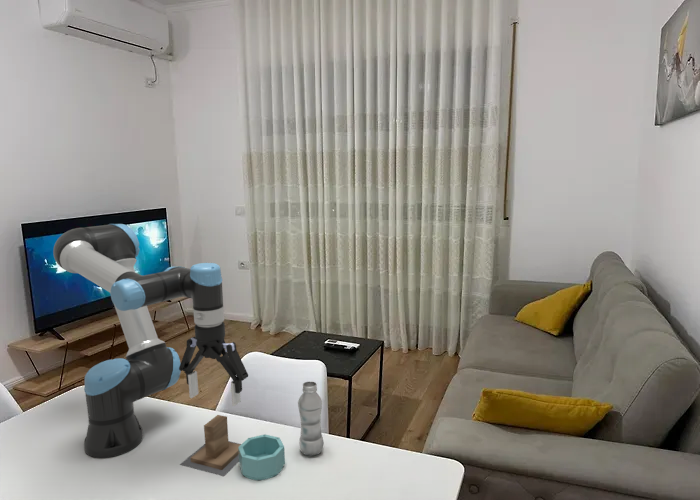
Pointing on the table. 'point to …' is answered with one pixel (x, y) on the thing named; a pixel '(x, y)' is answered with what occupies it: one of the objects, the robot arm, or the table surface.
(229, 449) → the cover lid
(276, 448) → the bowl
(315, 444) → the plastic bottle
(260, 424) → the table surface
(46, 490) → the table surface
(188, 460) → the mat
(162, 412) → the table surface
